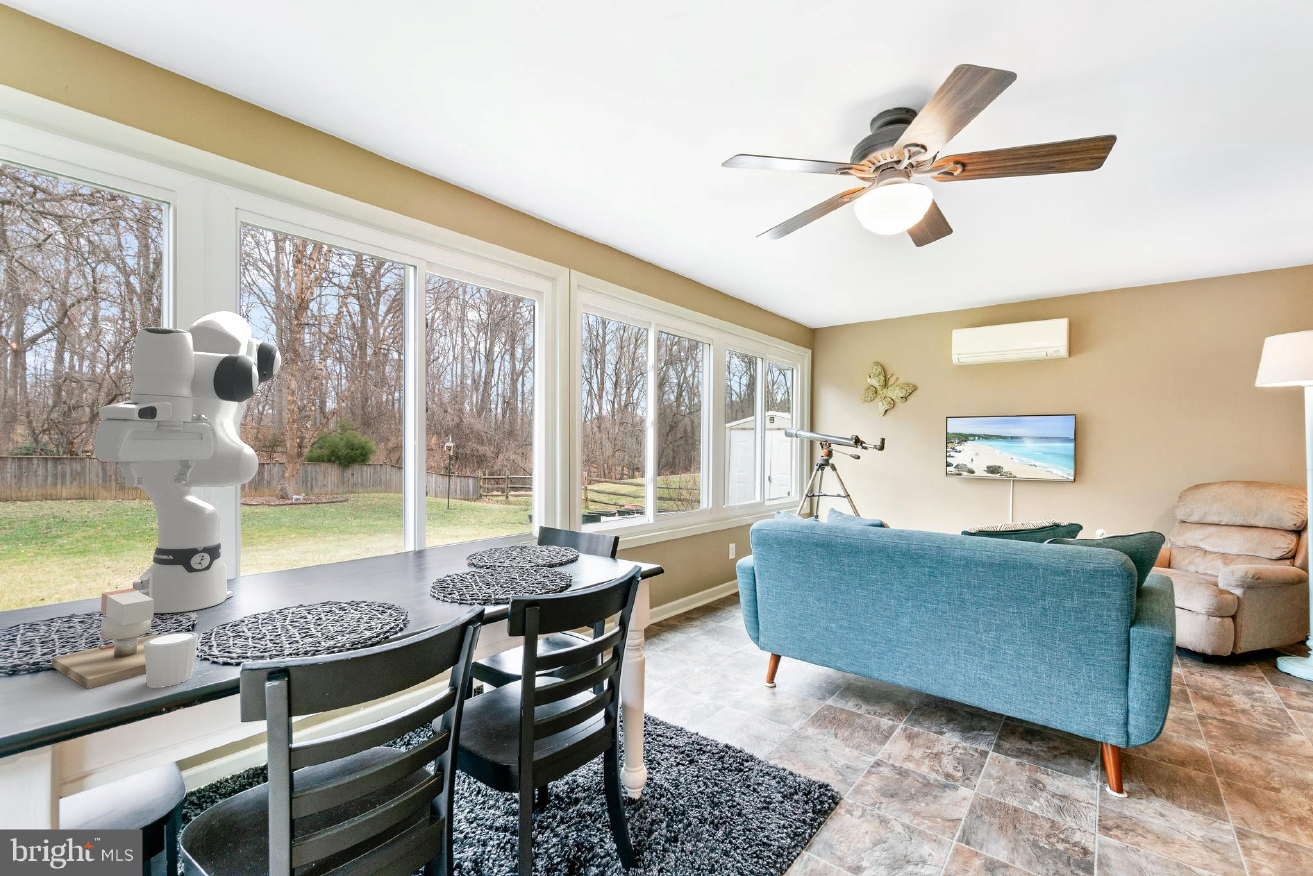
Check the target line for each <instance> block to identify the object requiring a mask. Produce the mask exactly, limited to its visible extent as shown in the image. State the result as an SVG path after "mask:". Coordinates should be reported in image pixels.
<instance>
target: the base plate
mask: <svg viewBox="0 0 1313 876" xmlns="http://www.w3.org/2000/svg"><path fill="white" fill-rule="evenodd" d="M157 636H159V635H158V634H150V635H147V636H141V637H138V641H137V653H136V654H135V655H132V656H128V657H123V658H115V657H114V642H113V643H110V644H104V645H100V646H98V647H94V648H89V649H85V650H80V651H77V652H71V653H67V654H62V655H59V656H53V657H52V658H51V666H52V665H53V667H52V668H54V669H55V670H57V671H58V672H60V673H62V674H63V675H65V676H66V677H68V678H70V679H72V680H74V681H75V682H76V683H78V684H80V685H81V686H83V687H84V688H86V689H87V690H89V689H93V688H96V687H99V686H102V685H106V684H110V683H115V682H118V681H122V680H126V679H128V678H133V677H136V676H140V675H144V674H146V665H145V653H144V642H145V641H147V640H149V639H151V638H153V637H157Z"/></svg>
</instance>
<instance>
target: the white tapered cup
mask: <svg viewBox="0 0 1313 876" xmlns="http://www.w3.org/2000/svg"><path fill="white" fill-rule="evenodd" d="M198 640H199V634H198V633H197V632H193V631H179V632H172V633H167V634H161V635H158V636H157V637H153V638H151V639H149V640H147V641H145V642H144V653H145V665H146V673H145V675H146V676H145V678H146V685H147V687H148V686H150V687H149V688H152V687H161V688H163V687H162V686H169V687H171V686H170V685H173V686H176V684H177V685H179V684H178V683H180V684H182V683H181V682H183V681H185V682H187V681H189V680H191V678H192V677H193V674H194V666H195V660H196V655H197V654H196V653H197V649H198V648H197V646H198V642H199V641H198ZM188 679H189V680H188ZM186 680H187V681H186ZM183 683H184V682H183Z"/></svg>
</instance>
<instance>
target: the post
mask: <svg viewBox="0 0 1313 876" xmlns="http://www.w3.org/2000/svg"><path fill="white" fill-rule="evenodd" d="M138 638H139V636H135V637H130V638H124V639H113V643H114V657H115V658H123V657H128V656H132V655H135V654H136V653H137V641H138Z"/></svg>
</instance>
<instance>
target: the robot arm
mask: <svg viewBox="0 0 1313 876" xmlns="http://www.w3.org/2000/svg"><path fill="white" fill-rule="evenodd" d="M251 332H252V331H251V326H250V325H249V323H248V322H247V321H246V320H245V319H244V318H243V317H242V316H241V315H238V314H237V313H233V312H230V311H217V312H215V313H214V312H213V313H211V314H210V313H209V314H208V315H205V316H203V317H201V318H200V319H198V320H196V321H195V322H194V323H193V324H192V325H191V326H189V328H188V329H187V330H184V329H178V328H173V327H172V328H171V327H170V328H169V327H158V326H157V327H156V326H146V327H143V328H140V329H138V332H137V335H136V339H135V341H134V346H133V352H132V361H131V374H132V377H133V386H132V389H131V390H130V399H129V400H125V401H122V402H117V403H112V404H108V405H104V406H101V407H99V409H98V415H99V418H101V419H103V420H102V421H101V422H100V423H99V424H98V425H97V429H96V431H95V432H96V433H95V439H94V441H95V442H94V454H95V456H96V458H97V459H98V461H100V462H108V463H118V469H119V470H120V472H121V474H122V475H123V477H124V486H125V487H126V488H137V487H138V488H140V489H141V491H143V493H145V494H146V495H147V497H148V498H149V499H150V501H151V502H152V503H153V504H152V505H153V507H154V508H155V511H156V515H157V516H156V517H157V526H158V528H157V529H158V530H157V531H158V533H157V534H158V540H157V541H158V542H157V546H156V547H155V548H154V549H155V551H154V552H153V557H152V558H153V559H152V562H153V563H152V564H151V566H150V567H149V568H147V570H146V571H145V572H144V573H143V574H141V575H140V576H139V579H138V580H134V581H133V582H132V588H133V589H135V590H137V591H138V592H140V593H142V594H144V595H146V596H148V597H150V598H152V599H154V614H168V613H169V614H172V613H183V612H189V611H190V612H191V611H197V610H201V609H205V608H206V609H207V608H210V607H214V606H217V605H219V604H221V603H223V602H224V601H226V600H227V599H228V598H231V597H233V595H234V592H233V591H230V590H228V581H227V580H228V579H227V578H228V577H227V565H226V563H224V562H222V560H220V558H221V556H222V555H221V553H222V547H221V542H220V541H219V539H220V523H221V522H220V520H221V515H220V512H219V511H218V509H217V508H216V507H215V506H213V505H212V504H211V503H207V502H206V501H203V500H202V499H201V500H200V499H199V498H198V497H197V496H196V495H195V493H194V492H193V488H198V487H199V488H226V487H235V486H238V485H246V484H248V483H250V482H251V480H252V479H253V478H254V477H255V476H256V475H257V472H258V470H259V459H258V458H259V457H258V455H257V453H256V451H255V450H254V449H253V448H252V447H251V446H250V445H248V444H246V443H244V442H243V441H242V440H241V439H240V438H239V435H238V431H239V427H240V425H241V421H242V419H243V416H244V413H245V411H246V407H247V404H248V400H249V399H250V398H252V397H253V396H254V395H256V391H257V390H258V387H259V386H260V385H261V384H262V383H265V382H268V381H269V380H271V379H272V378H274V377H275V375H276V373H278V372H279V369H280V367H281V363H282V357H281V354H280V349H279V348H278V346H277V345H275V344H273V343H270V342H268V341H265V340H258V339H255V338H251V336H252V333H251Z"/></svg>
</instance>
